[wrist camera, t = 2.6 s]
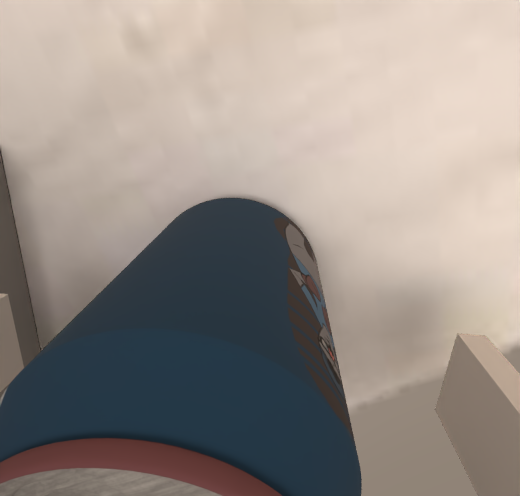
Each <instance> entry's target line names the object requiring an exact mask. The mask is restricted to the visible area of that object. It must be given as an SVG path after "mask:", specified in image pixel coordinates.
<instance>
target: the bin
mask: <svg viewBox="0 0 520 496" xmlns="http://www.w3.org/2000/svg"><path fill="white" fill-rule="evenodd" d="M0 293H1V294H8V297H9V302H10V306H11V311H12V315H13V320H14V324H15V329H16V333H17V338H18V342H19V347H20V352H21V356H22V361H23V365H24V368H25V367H26V366H27V365H28V364H29V363H30V362H31V361H32V360H33V359H34V358H35V357H36V356H37V355H38V354H39V353H40V347H39V342H38V337H37V332H36V327H35V322H34V317H33V312H32V307H31V302H30V297H29V292H28V287H27V282H26V277H25V272H24V267H23V262H22V257H21V252H20V247H19V243H18V238H17V233H16V228H15V223H14V218H13V213H12V208H11V203H10V198H9V193H8V188H7V183H6V178H5V173H4V168H3V163H2V158H1V153H0ZM10 383H11V382H10ZM10 383H9V384H10ZM9 384H8V385H7V386H6V387H5V388H4V389H3V390H2V391H1V392H0V399H1V397H2V395H3V393H4V392H5V390H6V389H7V387H8V386H9Z"/></svg>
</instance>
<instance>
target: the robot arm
mask: <svg viewBox="0 0 520 496" xmlns="http://www.w3.org/2000/svg"><path fill="white" fill-rule="evenodd" d="M23 369H24V365H23V361H22V356H21V352H20V347H19V342H18V338H17V333H16V329H15V324H14V320H13V315H12V311H11V306H10V302H9V297H8V294H1V293H0V392H1V391H2V390H3V389H4V388H5V387H6V386H7V385H8V384H9V383H10V382H12V380H13V379H14V378H15V377H16V376H17V375H18V374H19V372H21V371H22V370H23ZM435 410H436V412H437V414H438V416H439V418H440V420H441V422H442V425H443V426H444V428H445V431H446V433H447V434H448V437H449V439H450V441H451V442H452V445H453V447H454V448H455V451H456V453H457V455H458V457H459V459H460V461H461V463H462V465H463V466H464V469H465V471H466V473H467V475H468V477H469V479H470V481H471V483H472V485H473V487H474V489H475V491H476V493H477V495H478V496H520V374H519V373H518V372H517V370H516V369H515V368H514V367H513V366H512V365H511V364H510V363H509V361H508V360H507V359H506V358H505V357H504V356H503V355H502V354H501V353H500V351H499V350H498V349H497V348H496V347H495V346H494V345H493V344H492V342H491V341H490V340H489V339H488V338H487V337H486V336H482V335H470V334H459V333H457V337H456V340H455V344H454V347H453V350H452V354H451V357H450V361H449V364H448V367H447V371H446V374H445V378H444V381H443V385H442V388H441V391H440V395H439V398H438V401H437V405H436V408H435Z"/></svg>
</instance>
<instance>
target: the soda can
mask: <svg viewBox="0 0 520 496" xmlns="http://www.w3.org/2000/svg"><path fill="white" fill-rule="evenodd" d="M0 496H361V471H360V466H359V460H358V455H357V451H356V446H355V441H354V437H353V432H352V428H351V423H350V418H349V413H348V408H347V404H346V399H345V394H344V390H343V385H342V380H341V376H340V371H339V366H338V362H337V357H336V352H335V347H334V343H333V338H332V333H331V329H330V324H329V319H328V315H327V310H326V305H325V300H324V296H323V291H322V286H321V282H320V277H319V272H318V268H317V263H316V259H315V256H314V253H313V250H312V248H311V246H310V244H309V242H308V240H307V239H306V237H305V236H304V234H303V233H302V232H301V230H300V229H299V228H298V227H297V226H296V225H295V224H294V223H293V222H292V221H291V220H290V219H289V218H287V217H286V216H285V215H283V214H282V213H281V212H279V211H277V210H276V209H274V208H272V207H270V206H267V205H265V204H262V203H259V202H256V201H252V200H248V199H241V198H221V199H215V200H210V201H206V202H203V203H200V204H198V205H196V206H193V207H192V208H190V209H188V210H186V211H185V212H183V213H182V214H180V215H179V216H178V217H177V218H176V219H175V220H173V221H172V222H171V223H170V224H169V225H168V226H167V227H166V228H165V229H164V230H163V231H162V232H161V233H160V234H159V235H158V236H157V237H156V238H155V239H154V240H153V241H152V242H151V243H150V244H149V245H148V246H147V247H146V248H145V249H144V250H143V251H142V252H141V253H140V254H139V255H138V256H137V257H136V258H135V259H134V260H133V261H132V262H131V263H130V264H129V265H128V266H127V267H126V268H125V269H124V270H123V271H122V272H121V273H120V274H119V275H118V276H117V277H116V278H115V279H114V280H113V281H112V282H111V283H110V284H109V285H108V286H107V287H106V288H105V289H104V290H103V291H102V292H101V293H99V294H98V295H97V296H96V297H95V298H94V299H93V300H92V301H91V302H90V303H89V304H88V305H87V306H86V307H85V308H84V309H83V310H82V311H81V312H80V313H79V314H78V315H77V316H76V317H75V318H74V319H73V320H72V321H71V322H70V323H69V324H68V325H67V326H66V327H65V328H64V329H63V330H62V331H61V332H60V333H59V334H58V335H57V336H56V337H55V338H54V339H53V340H52V341H51V342H50V343H49V344H48V345H47V346H46V347H45V348H44V349H43V350H42V351H41V352H40V353H39V354H38V355H37V356H36V357H35V358H34V359H33V360H32V361H31V362H30V363H29V364H28V365H27V366H26V367H25V368H24V369H23V370H22V371H21V372H19V374H18V375H17V376H16V377H15V378H14V379H13V380H12V382H11V383H10V384H9V386H8V387H7V389H6V390H5V392H4V393H3V395H2V397H1V399H0Z"/></svg>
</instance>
